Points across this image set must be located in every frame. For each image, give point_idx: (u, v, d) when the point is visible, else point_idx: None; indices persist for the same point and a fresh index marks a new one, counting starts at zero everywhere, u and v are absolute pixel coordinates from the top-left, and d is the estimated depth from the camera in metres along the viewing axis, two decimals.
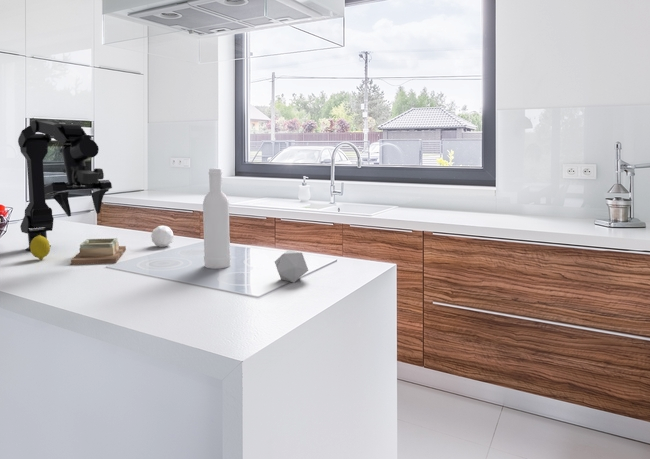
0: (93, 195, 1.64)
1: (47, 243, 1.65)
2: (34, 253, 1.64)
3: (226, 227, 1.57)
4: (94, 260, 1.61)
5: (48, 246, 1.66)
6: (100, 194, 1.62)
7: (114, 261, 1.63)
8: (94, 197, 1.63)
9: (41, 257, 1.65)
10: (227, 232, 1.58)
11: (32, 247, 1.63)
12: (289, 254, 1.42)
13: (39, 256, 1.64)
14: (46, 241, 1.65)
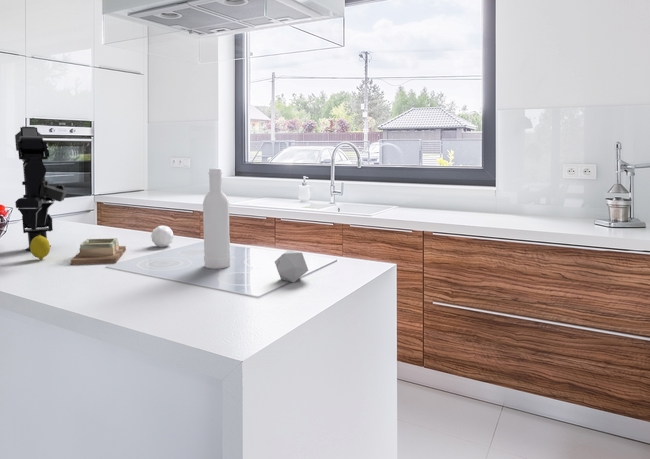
0: None
1: (47, 243, 1.65)
2: (34, 253, 1.64)
3: (226, 227, 1.57)
4: (94, 260, 1.61)
5: (48, 246, 1.66)
6: (48, 207, 1.69)
7: (114, 261, 1.63)
8: None
9: (41, 257, 1.65)
10: (227, 232, 1.58)
11: (32, 247, 1.63)
12: (289, 254, 1.42)
13: (39, 256, 1.64)
14: (46, 241, 1.65)
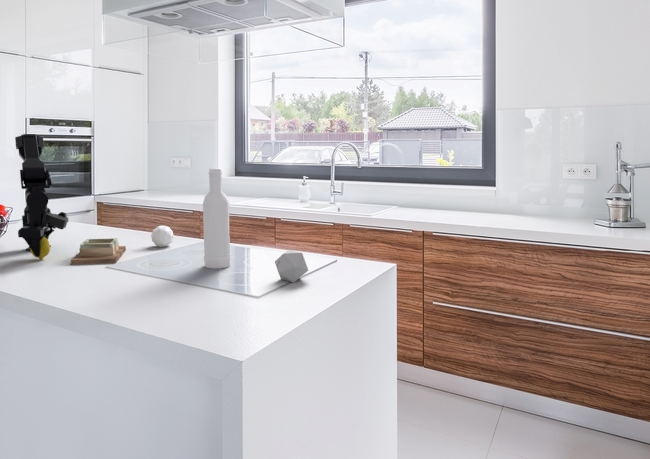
0: None
1: (47, 243, 1.65)
2: None
3: (226, 227, 1.57)
4: (94, 260, 1.61)
5: (48, 246, 1.66)
6: (49, 234, 1.69)
7: (114, 261, 1.63)
8: None
9: (41, 257, 1.65)
10: (227, 232, 1.58)
11: None
12: (289, 254, 1.42)
13: (39, 256, 1.64)
14: (46, 241, 1.65)
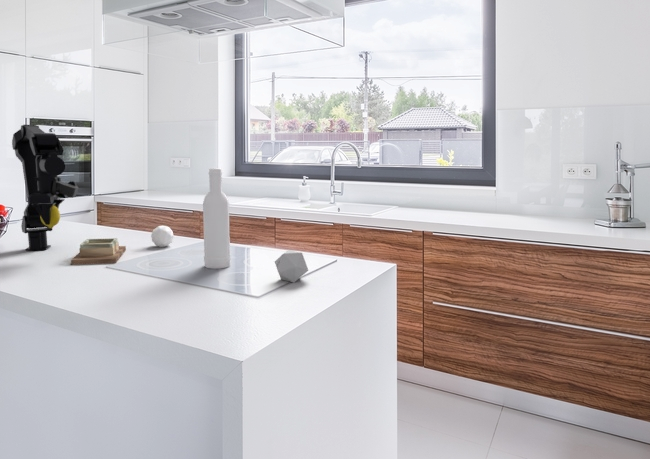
0: None
1: (57, 211, 1.64)
2: None
3: (226, 227, 1.57)
4: (94, 260, 1.61)
5: (58, 214, 1.65)
6: (59, 204, 1.68)
7: (114, 261, 1.63)
8: None
9: (51, 225, 1.64)
10: (227, 232, 1.58)
11: None
12: (289, 254, 1.42)
13: (49, 224, 1.64)
14: (56, 209, 1.64)
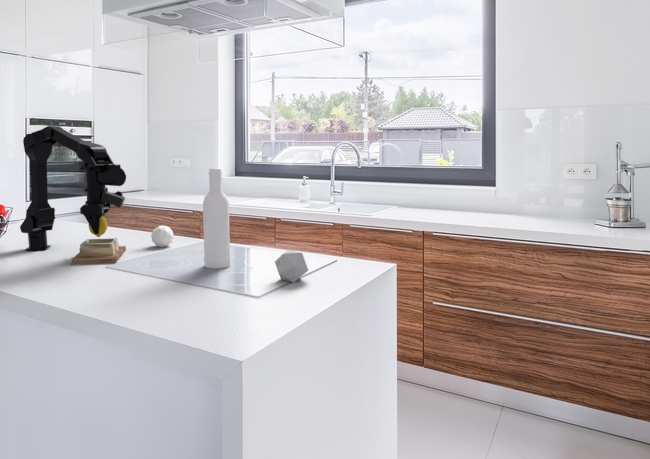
0: None
1: (105, 221, 1.69)
2: None
3: (226, 227, 1.57)
4: (94, 260, 1.61)
5: (106, 224, 1.69)
6: (105, 213, 1.73)
7: (114, 261, 1.63)
8: None
9: (99, 235, 1.69)
10: (227, 232, 1.58)
11: None
12: (289, 254, 1.42)
13: None
14: (104, 219, 1.69)
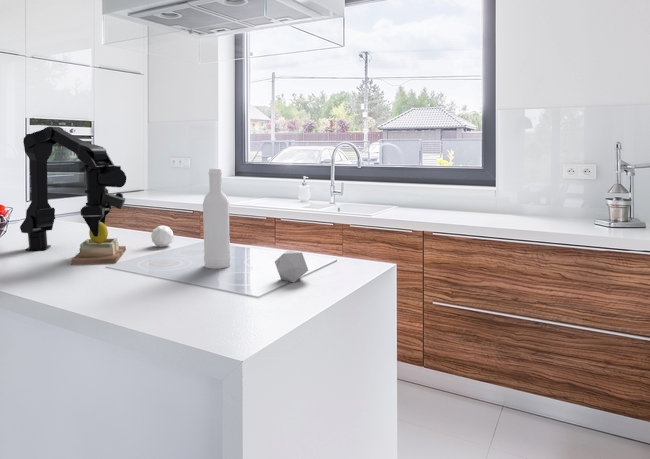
0: None
1: (106, 229, 1.69)
2: (93, 238, 1.68)
3: (226, 227, 1.57)
4: (94, 260, 1.61)
5: (106, 232, 1.70)
6: None
7: (114, 261, 1.63)
8: None
9: (99, 242, 1.69)
10: (227, 232, 1.58)
11: None
12: (289, 254, 1.42)
13: (98, 241, 1.68)
14: (105, 227, 1.69)
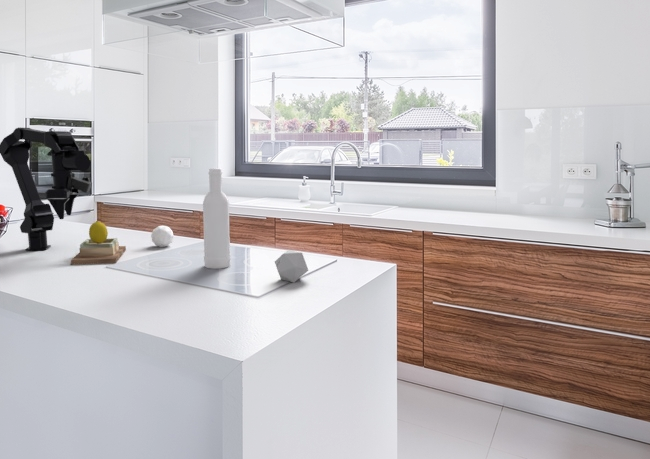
0: None
1: (105, 229, 1.69)
2: (93, 238, 1.68)
3: (226, 227, 1.57)
4: (94, 260, 1.61)
5: (106, 232, 1.70)
6: (74, 198, 1.78)
7: (114, 261, 1.63)
8: None
9: (99, 242, 1.69)
10: (227, 232, 1.58)
11: (91, 232, 1.67)
12: (289, 254, 1.42)
13: (98, 241, 1.68)
14: (104, 227, 1.69)
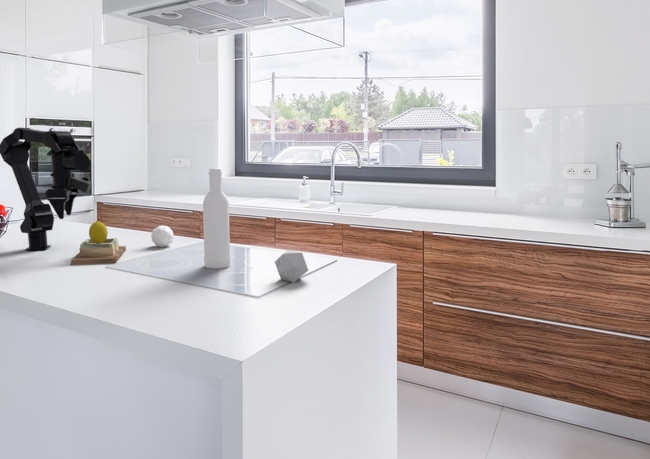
0: None
1: (105, 229, 1.69)
2: (93, 238, 1.68)
3: (226, 227, 1.57)
4: (94, 260, 1.61)
5: (106, 232, 1.70)
6: (74, 198, 1.78)
7: (114, 261, 1.63)
8: None
9: (99, 242, 1.69)
10: (227, 232, 1.58)
11: (91, 232, 1.67)
12: (289, 254, 1.42)
13: (98, 241, 1.68)
14: (104, 227, 1.69)
